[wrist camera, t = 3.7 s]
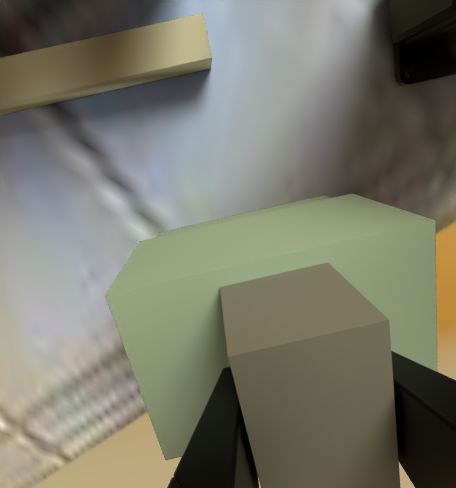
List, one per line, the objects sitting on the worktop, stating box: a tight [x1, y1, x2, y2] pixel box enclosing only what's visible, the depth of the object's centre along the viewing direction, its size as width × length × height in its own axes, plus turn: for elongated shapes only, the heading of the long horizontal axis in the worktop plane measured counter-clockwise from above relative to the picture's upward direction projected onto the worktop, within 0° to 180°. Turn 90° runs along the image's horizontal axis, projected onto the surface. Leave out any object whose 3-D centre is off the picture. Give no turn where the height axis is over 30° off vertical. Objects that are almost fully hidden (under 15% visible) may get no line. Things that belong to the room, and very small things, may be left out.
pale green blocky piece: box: [105, 193, 437, 488], centre depth 11 cm, size 9×6×10 cm, turn 102°
